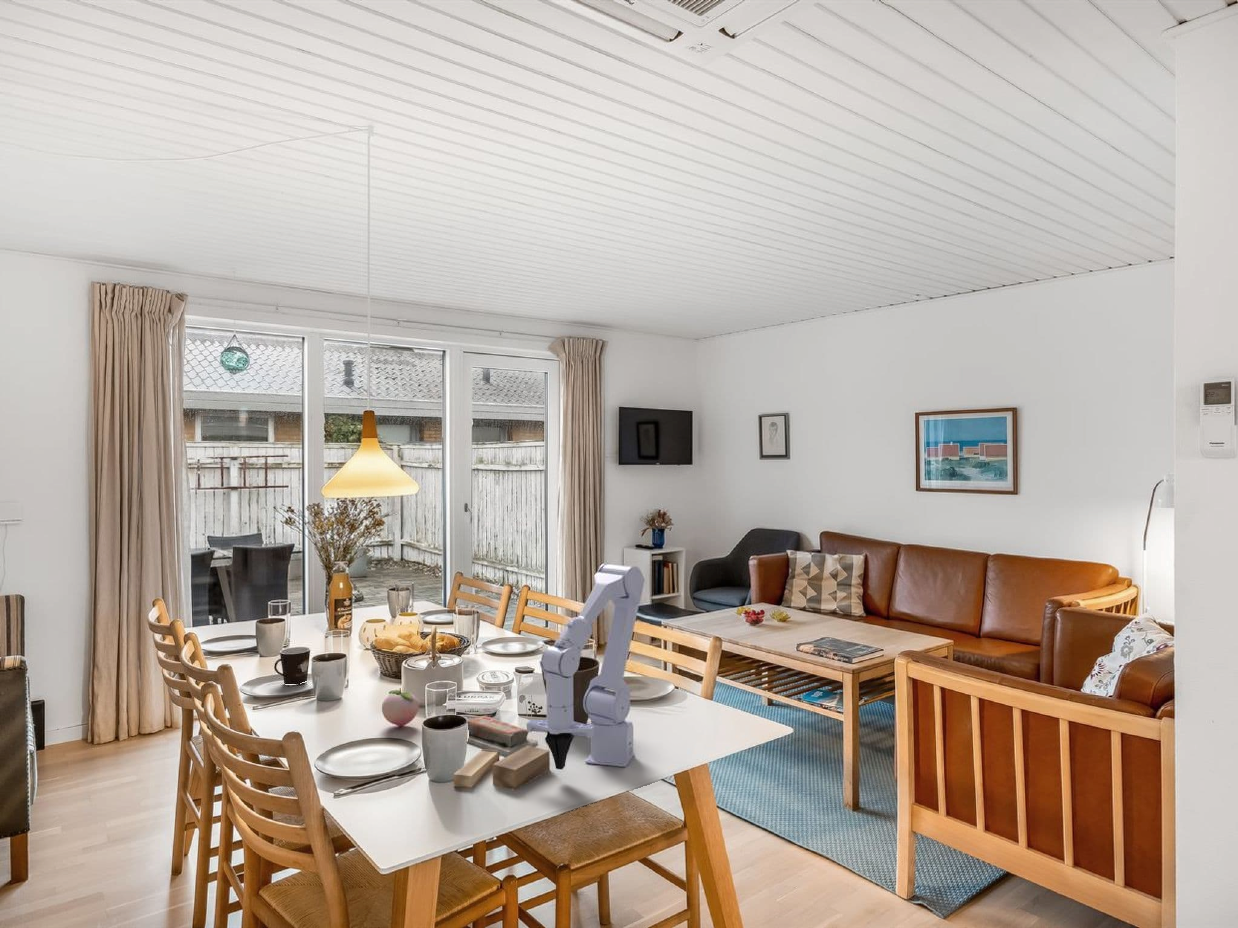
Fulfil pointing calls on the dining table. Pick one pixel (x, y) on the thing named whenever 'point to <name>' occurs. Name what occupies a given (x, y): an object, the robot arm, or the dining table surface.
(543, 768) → the block
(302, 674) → the coffee mug
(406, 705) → the decorative fruit
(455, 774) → the light wooden bar
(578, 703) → the plant pot
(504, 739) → the reddish brown brick
